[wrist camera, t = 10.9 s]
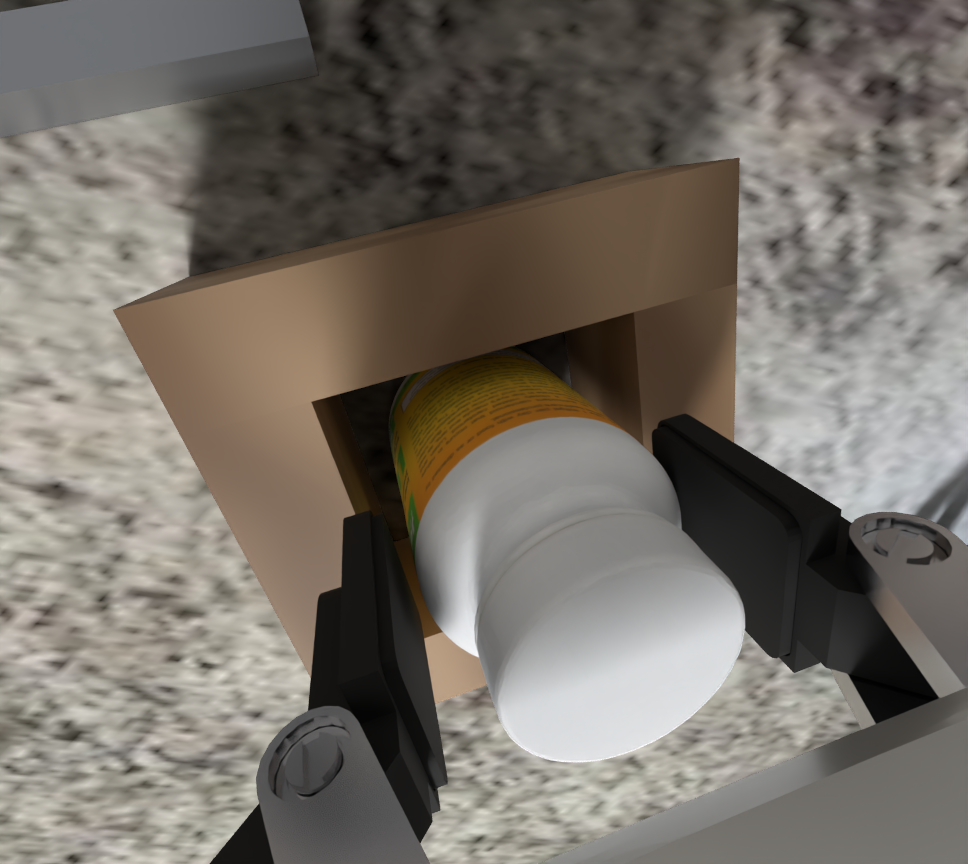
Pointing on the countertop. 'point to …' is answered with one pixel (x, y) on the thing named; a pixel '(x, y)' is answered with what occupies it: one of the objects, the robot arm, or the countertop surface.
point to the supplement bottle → (558, 558)
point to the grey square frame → (141, 56)
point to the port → (437, 353)
